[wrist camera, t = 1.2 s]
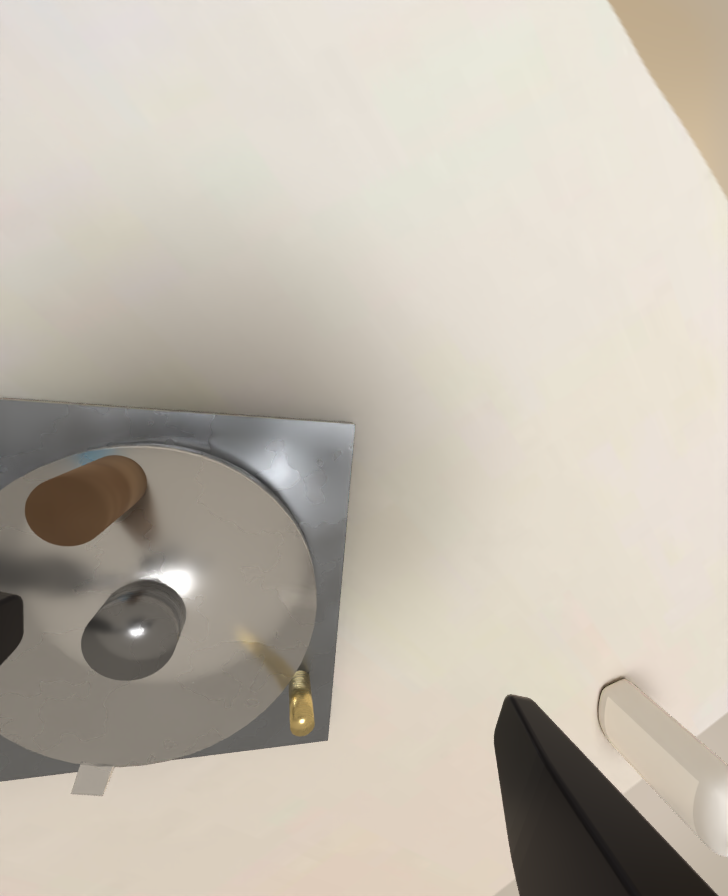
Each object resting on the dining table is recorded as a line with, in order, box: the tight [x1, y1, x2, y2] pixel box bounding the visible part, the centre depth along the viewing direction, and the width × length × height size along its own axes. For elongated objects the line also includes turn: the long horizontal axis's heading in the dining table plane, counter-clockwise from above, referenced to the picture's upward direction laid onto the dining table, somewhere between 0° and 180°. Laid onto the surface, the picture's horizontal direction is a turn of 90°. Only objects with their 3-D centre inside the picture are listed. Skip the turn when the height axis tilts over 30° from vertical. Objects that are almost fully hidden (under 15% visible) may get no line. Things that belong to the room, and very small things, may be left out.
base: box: [0, 398, 355, 781], centre depth 18 cm, size 19×19×4 cm
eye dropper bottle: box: [599, 679, 728, 857], centre depth 23 cm, size 4×6×12 cm
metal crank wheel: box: [0, 443, 317, 796], centre depth 16 cm, size 16×18×5 cm
